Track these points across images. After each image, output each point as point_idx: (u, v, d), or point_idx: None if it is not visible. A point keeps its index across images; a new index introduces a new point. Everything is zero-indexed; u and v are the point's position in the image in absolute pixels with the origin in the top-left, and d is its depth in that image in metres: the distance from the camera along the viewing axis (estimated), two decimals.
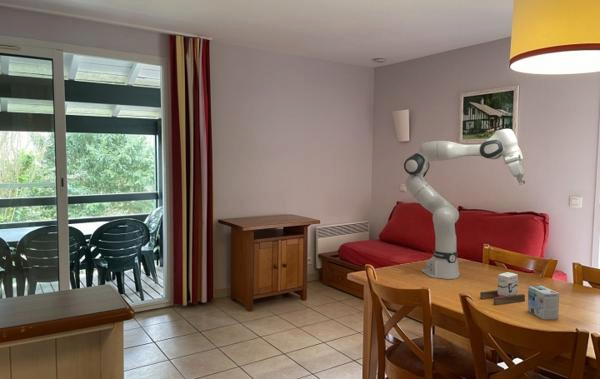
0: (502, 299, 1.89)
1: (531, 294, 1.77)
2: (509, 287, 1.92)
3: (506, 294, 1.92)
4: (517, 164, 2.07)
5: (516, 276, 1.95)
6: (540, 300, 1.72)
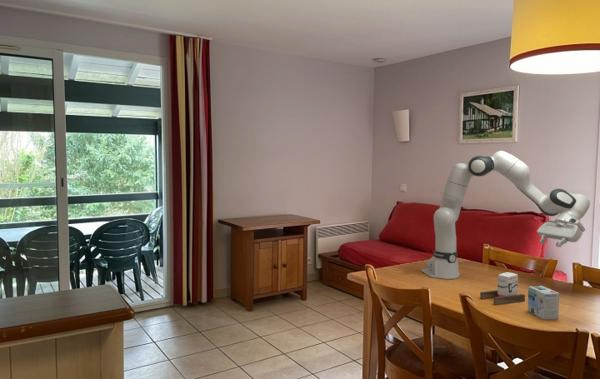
0: (502, 299, 1.89)
1: (531, 294, 1.77)
2: (509, 287, 1.92)
3: (506, 294, 1.92)
4: (581, 234, 1.96)
5: (516, 276, 1.95)
6: (540, 300, 1.72)
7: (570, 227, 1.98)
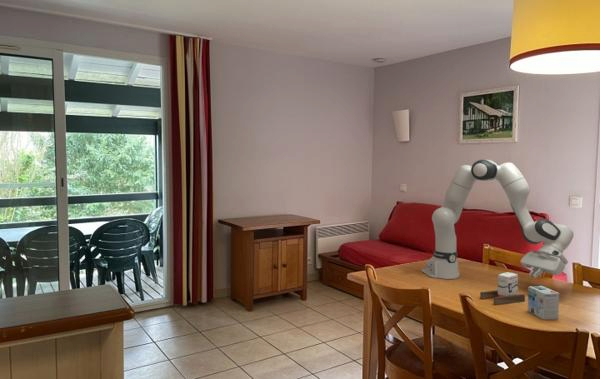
0: (502, 299, 1.89)
1: (532, 294, 1.77)
2: (509, 287, 1.92)
3: (506, 294, 1.92)
4: (564, 266, 1.94)
5: (516, 276, 1.95)
6: (540, 300, 1.72)
7: (553, 259, 1.96)
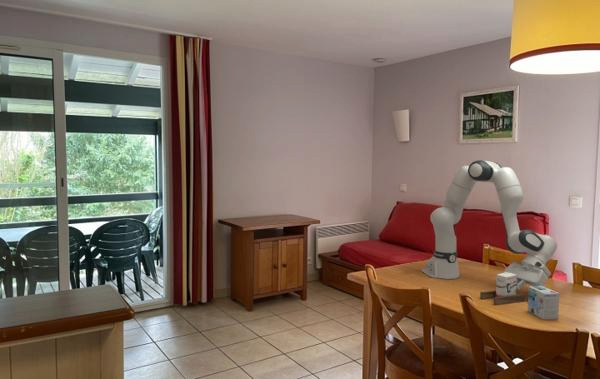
0: (502, 299, 1.89)
1: (531, 294, 1.77)
2: (507, 287, 1.92)
3: (504, 294, 1.92)
4: (546, 278, 1.91)
5: (515, 276, 1.95)
6: (540, 300, 1.72)
7: (535, 271, 1.93)
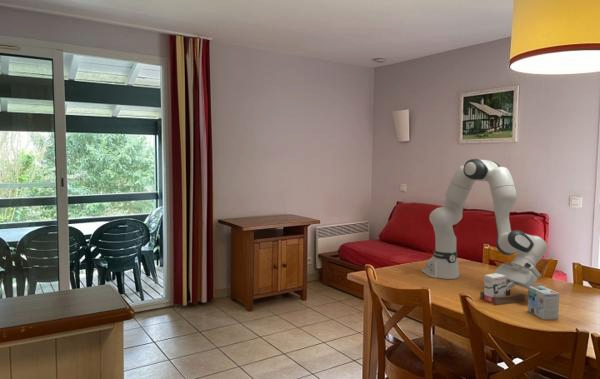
0: (502, 299, 1.89)
1: (532, 294, 1.77)
2: (494, 288, 1.91)
3: (491, 295, 1.91)
4: (536, 280, 1.89)
5: (504, 277, 1.93)
6: (540, 300, 1.72)
7: (525, 272, 1.92)
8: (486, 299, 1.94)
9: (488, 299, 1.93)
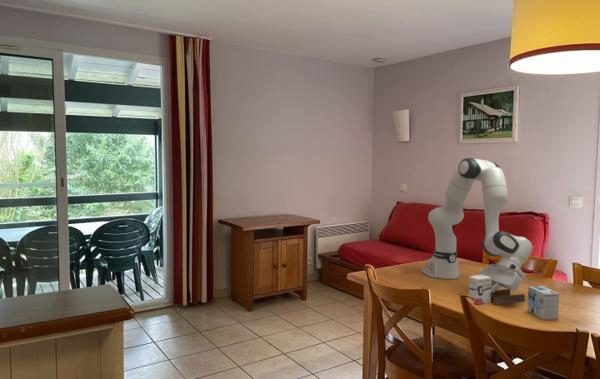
0: (502, 299, 1.89)
1: (531, 294, 1.77)
2: (478, 290, 1.89)
3: (475, 297, 1.89)
4: (521, 281, 1.86)
5: (489, 279, 1.90)
6: (540, 300, 1.72)
7: (510, 273, 1.89)
8: None
9: None
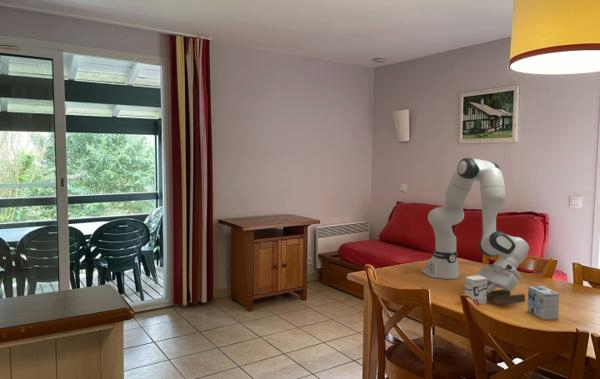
0: (502, 299, 1.89)
1: (531, 294, 1.77)
2: (474, 290, 1.88)
3: (471, 297, 1.88)
4: (517, 282, 1.85)
5: (484, 280, 1.90)
6: (540, 300, 1.72)
7: (506, 274, 1.88)
8: None
9: None
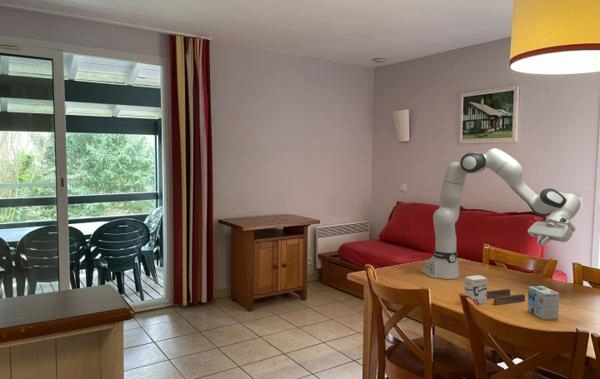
0: (502, 299, 1.89)
1: (531, 294, 1.77)
2: (474, 290, 1.88)
3: (471, 297, 1.88)
4: (571, 233, 1.94)
5: (484, 280, 1.90)
6: (540, 300, 1.72)
7: (560, 226, 1.97)
8: None
9: None
